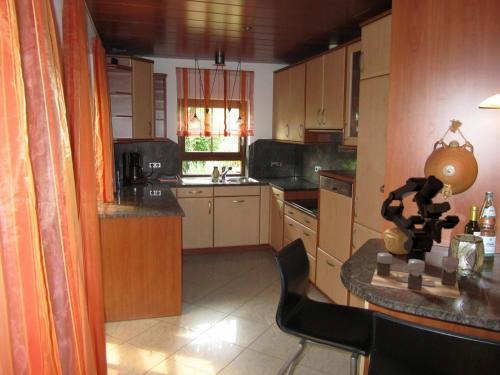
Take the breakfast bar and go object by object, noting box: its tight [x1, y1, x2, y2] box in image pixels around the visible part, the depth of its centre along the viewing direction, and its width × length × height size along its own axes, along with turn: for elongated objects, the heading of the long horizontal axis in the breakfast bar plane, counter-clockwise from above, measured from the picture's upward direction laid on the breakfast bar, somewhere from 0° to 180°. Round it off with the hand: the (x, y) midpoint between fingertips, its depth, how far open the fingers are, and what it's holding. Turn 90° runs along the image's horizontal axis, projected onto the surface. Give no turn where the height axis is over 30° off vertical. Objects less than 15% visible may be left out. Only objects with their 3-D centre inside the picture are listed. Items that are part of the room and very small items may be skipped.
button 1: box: [376, 252, 393, 265], centre depth 151 cm, size 5×5×5 cm
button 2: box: [441, 255, 459, 274], centre depth 143 cm, size 5×5×5 cm
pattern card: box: [396, 274, 434, 287], centre depth 145 cm, size 6×12×1 cm, turn 68°
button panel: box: [370, 262, 462, 300], centre depth 144 cm, size 16×27×6 cm, turn 68°
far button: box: [407, 259, 426, 278], centre depth 139 cm, size 5×5×5 cm
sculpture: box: [383, 226, 408, 255], centre depth 181 cm, size 11×12×11 cm
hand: (439, 243), depth 149 cm, fingers closed
